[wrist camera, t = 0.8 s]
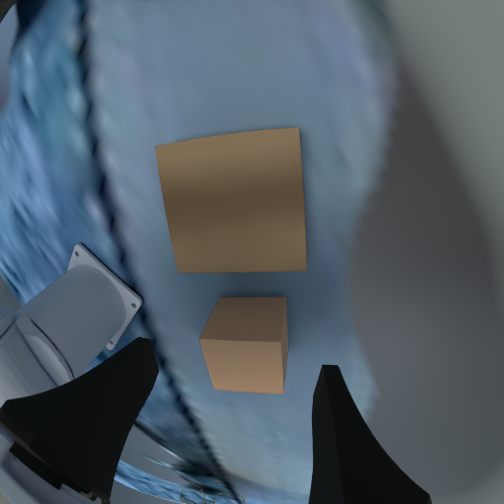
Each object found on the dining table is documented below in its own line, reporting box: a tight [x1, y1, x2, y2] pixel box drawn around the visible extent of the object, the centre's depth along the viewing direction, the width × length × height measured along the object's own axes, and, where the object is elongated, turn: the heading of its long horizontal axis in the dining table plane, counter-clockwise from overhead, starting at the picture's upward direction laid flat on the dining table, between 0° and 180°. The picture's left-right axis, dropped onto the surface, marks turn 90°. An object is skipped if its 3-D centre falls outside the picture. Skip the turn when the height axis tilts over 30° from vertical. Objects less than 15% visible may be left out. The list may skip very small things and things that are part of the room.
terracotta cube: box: [199, 297, 288, 394], centre depth 19 cm, size 5×5×5 cm
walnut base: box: [155, 128, 307, 273], centre depth 17 cm, size 8×8×3 cm
